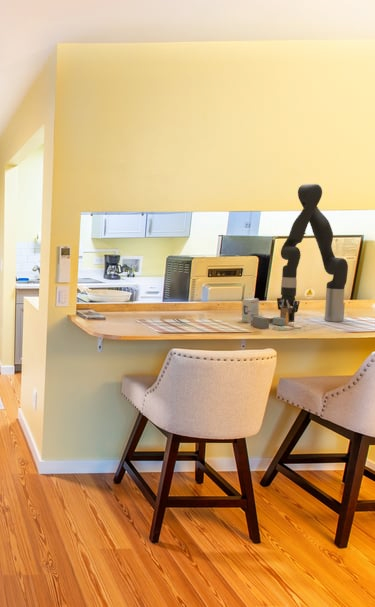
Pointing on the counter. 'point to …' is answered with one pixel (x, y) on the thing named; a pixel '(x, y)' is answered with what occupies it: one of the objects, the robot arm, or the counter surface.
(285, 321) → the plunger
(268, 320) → the gauge bed
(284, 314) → the brown wooden block
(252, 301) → the ink box
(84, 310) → the counter surface
